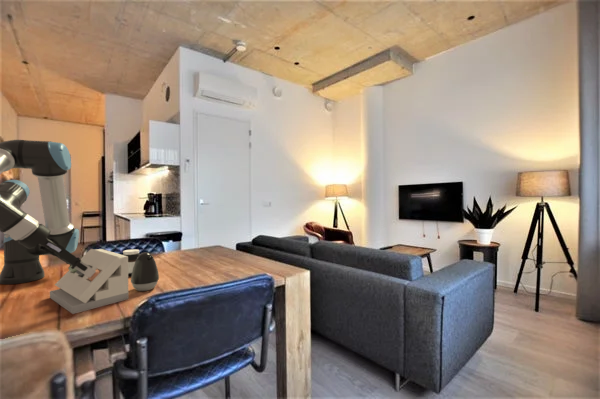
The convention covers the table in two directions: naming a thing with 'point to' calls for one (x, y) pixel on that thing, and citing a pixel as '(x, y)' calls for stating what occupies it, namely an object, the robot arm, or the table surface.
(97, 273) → the terracotta button
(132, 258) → the spread jar
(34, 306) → the table surface
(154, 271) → the dark grey egg figure
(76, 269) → the sage button
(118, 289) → the button console
